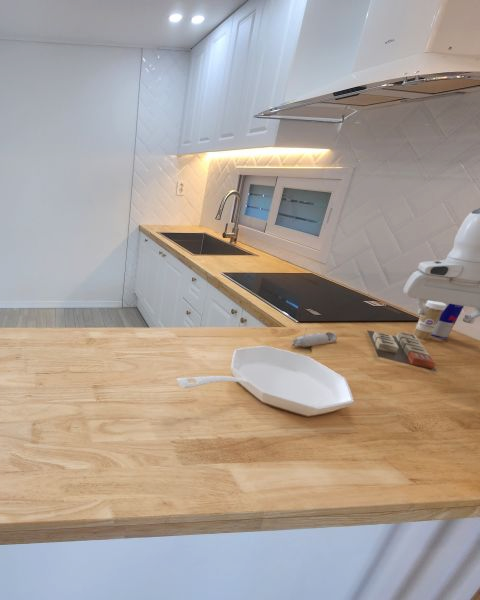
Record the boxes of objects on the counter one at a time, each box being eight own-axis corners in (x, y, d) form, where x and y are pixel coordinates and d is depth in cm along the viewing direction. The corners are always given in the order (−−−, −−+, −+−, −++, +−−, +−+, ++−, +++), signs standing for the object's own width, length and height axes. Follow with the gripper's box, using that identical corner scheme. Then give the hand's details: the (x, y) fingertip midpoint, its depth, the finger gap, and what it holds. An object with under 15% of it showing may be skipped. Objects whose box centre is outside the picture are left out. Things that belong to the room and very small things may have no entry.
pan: (371, 412, 77) (382, 389, 75) (211, 447, 64) (218, 421, 62) (280, 355, 100) (286, 336, 97) (149, 373, 87) (152, 352, 85)
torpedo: (324, 338, 112) (331, 320, 109) (338, 345, 108) (346, 326, 105) (284, 344, 106) (290, 326, 104) (298, 352, 102) (304, 333, 99)
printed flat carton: (413, 340, 112) (415, 334, 111) (426, 360, 99) (430, 354, 99) (395, 336, 114) (398, 331, 113) (406, 355, 101) (409, 349, 101)
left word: (389, 340, 111) (392, 335, 110) (396, 353, 103) (399, 347, 102) (372, 336, 113) (374, 331, 112) (377, 348, 105) (380, 342, 104)
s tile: (427, 362, 99) (430, 355, 98) (432, 368, 95) (435, 362, 94) (407, 357, 101) (410, 351, 100) (411, 363, 97) (414, 357, 96)
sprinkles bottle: (414, 339, 114) (431, 303, 109) (408, 334, 118) (425, 298, 113) (431, 342, 113) (450, 306, 108) (425, 337, 117) (442, 301, 112)
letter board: (414, 343, 112) (415, 340, 112) (435, 373, 94) (437, 371, 94) (366, 332, 118) (366, 330, 118) (377, 358, 100) (378, 356, 100)
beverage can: (431, 339, 115) (451, 298, 110) (420, 332, 120) (438, 293, 115) (450, 342, 114) (471, 301, 108) (438, 334, 119) (458, 295, 113)
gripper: (517, 274, 86) (492, 323, 91) (412, 261, 96) (394, 306, 101) (531, 280, 81) (503, 332, 86) (418, 266, 91) (399, 313, 96)
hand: (443, 318), depth 93 cm, fingers open, 8 cm apart
